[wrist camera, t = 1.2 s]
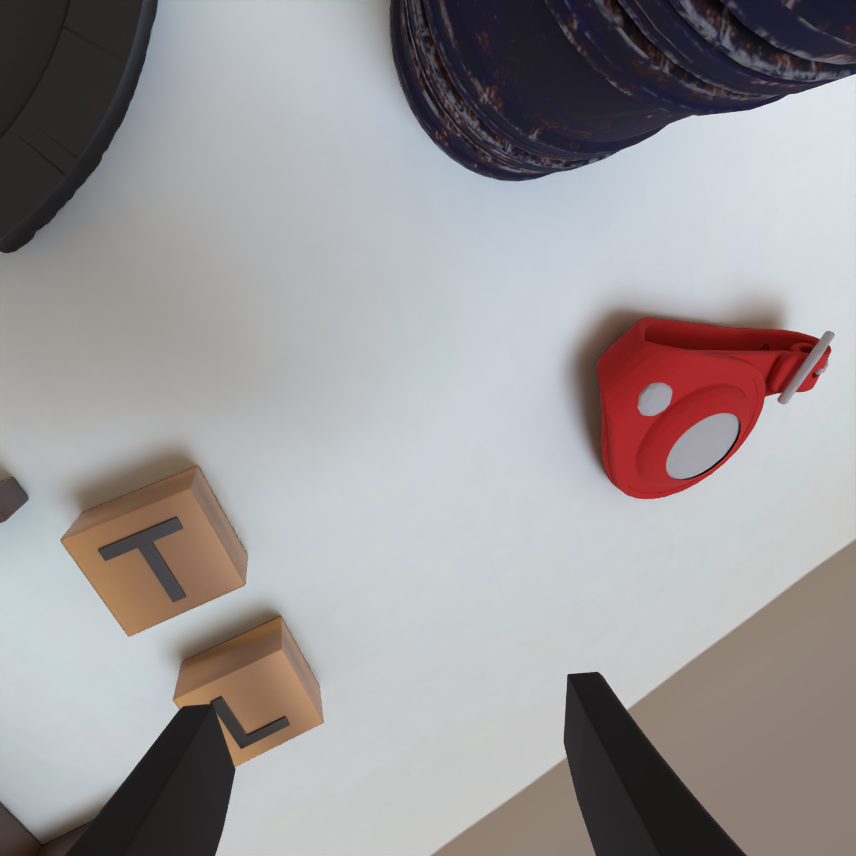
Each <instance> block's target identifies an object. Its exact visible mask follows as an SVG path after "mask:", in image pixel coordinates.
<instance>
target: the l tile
mask: <svg viewBox="0 0 856 856" xmlns="http://www.w3.org/2000/svg"><path fill="white" fill-rule="evenodd" d="M173 701H174V702H175V704H176V705H177V707H178V708H179V710H180V709H181V708H182V707H183V706H190V705H202V704H213V705H214V707H215V710H216V713H217V716H218V719H219V722H220V725H221V728H222V731H223V734H224V737H225V740H226V743H227V746H228V749H229V752H230V755H231V758H232V761H233V764H234V767H236V766H238V765H240V764H242V763H244V762H246V761H248V760H250V759H252V758H254V757H256V756H258V755H260V754H262V753H264V752H266V751H268V750H270V749H272V748H274V747H276V746H278V745H280V744H282V743H284V742H286V741H288V740H290V739H292V738H294V737H296V736H298V735H300V734H302V733H304V732H306V731H308V730H310V729H312V728H314V727H316V726H318V725H320V724H322V723H323V722H324V721H323V712H322V702H321V693H320V686H319V684H318V682H317V680H316V679H315V677H314V675H313V673H312V671H311V670H310V668H309V666H308V664H307V662H306V660H305V659H304V657H303V655H302V653H301V651H300V650H299V648H298V646H297V644H296V642H295V640H294V639H293V637H292V635H291V633H290V631H289V630H288V628H287V626H286V624H285V622H284V620H283V619H282V617H278V618H276V619H274V620H272V621H270V622H268V623H265V624H263V625H261V626H259V627H257V628H255V629H252V630H250V631H248V632H246V633H244V634H241V635H239V636H237V637H235V638H233V639H231V640H228V641H226V642H224V643H222V644H220V645H218V646H215V647H213V648H211V649H209V650H207V651H204V652H202V653H200V654H198V655H196V656H194V657H191V658H189V659H187V660H185V661H183V662H182V663H181V667H180V671H179V676H178V680H177V684H176V688H175V693H174V697H173Z"/></svg>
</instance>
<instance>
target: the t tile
mask: <svg viewBox="0 0 856 856" xmlns="http://www.w3.org/2000/svg"><path fill="white" fill-rule="evenodd" d="M60 540H61V543H62V544H63V545H64V547H65V548H66V550H67V551H68V552H69V554H70V555H71V557H72V558H73V559H74V561H75V562H76V564H77V565H78V567H79V568H80V569H81V571H82V572H83V574H84V575H85V576H86V578H87V579H88V581H89V582H90V583H91V585H92V586H93V588H94V589H95V590H96V592H97V593H98V595H99V596H100V598H101V599H102V600H103V602H104V603H105V605H106V606H107V607H108V609H109V610H110V612H111V613H112V614H113V616H114V617H115V619H116V620H117V622H118V623H119V624H120V626H121V627H122V629H123V630H124V631H125V633H126V634H127V636H132V635H134V634H136V633H139V632H141V631H143V630H145V629H148V628H150V627H152V626H154V625H157V624H159V623H161V622H163V621H166V620H168V619H170V618H172V617H175V616H177V615H179V614H181V613H184V612H186V611H188V610H190V609H193V608H195V607H197V606H199V605H202V604H204V603H206V602H208V601H211V600H213V599H215V598H217V597H220V596H222V595H224V594H226V593H229V592H231V591H233V590H235V589H238V588H240V587H242V586H244V585H245V584H246V573H247V562H248V555H247V554H246V552H245V550H244V548H243V546H242V544H241V543H240V541H239V539H238V537H237V535H236V534H235V532H234V530H233V528H232V526H231V524H230V523H229V521H228V519H227V517H226V515H225V514H224V512H223V510H222V508H221V506H220V504H219V503H218V501H217V499H216V497H215V495H214V494H213V492H212V490H211V488H210V486H209V484H208V483H207V481H206V479H205V477H204V475H203V474H202V472H201V470H200V468H199V467H195V468H192V469H190V470H187V471H185V472H182V473H180V474H177V475H175V476H172V477H170V478H167V479H165V480H162V481H160V482H157V483H155V484H152V485H150V486H147V487H145V488H142V489H140V490H137V491H135V492H132V493H130V494H127V495H125V496H122V497H120V498H117V499H115V500H112V501H110V502H107V503H105V504H102V505H100V506H97V507H95V508H92V509H90V510H87V511H85V512H82V513H81V514H80V515H79V517H78V518H77V519H76V521H75V522H74V523H73V524H72V526H71V527H70V528H69V529H68V531H67V532H66V533H65V534H64V536H63V537H62V538H61V539H60Z"/></svg>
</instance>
